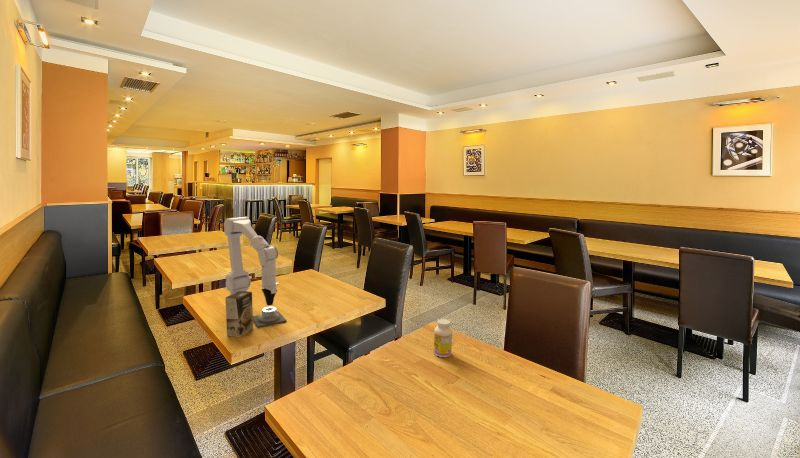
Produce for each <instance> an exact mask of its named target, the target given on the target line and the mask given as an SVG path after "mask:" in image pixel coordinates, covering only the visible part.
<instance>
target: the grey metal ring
mask: <svg viewBox="0 0 800 458" xmlns="http://www.w3.org/2000/svg"><path fill="white" fill-rule="evenodd" d="M266 309H271V310H270V311H266ZM261 314H262V317H263V318H265V319H271V318H274V317H276V316H277V308H276V306H266V307H263V308H262V309H261Z"/></svg>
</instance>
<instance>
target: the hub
mask: <svg viewBox="0 0 800 458" xmlns="http://www.w3.org/2000/svg"><path fill="white" fill-rule="evenodd" d="M270 310H271V309H266V311H270ZM283 323H287V319H286V318H285V317H284V315H282V313H280V312H279V310H278V311H277V316H276V317H274V318H271V319H265V318H263V317H262V313H260V314H257V315H253V324H254V325H256V327H257V328H258V329H260V328H265V327H270V326H274V325H275V326H276V325H278V324H283Z"/></svg>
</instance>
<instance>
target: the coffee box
mask: <svg viewBox="0 0 800 458" xmlns="http://www.w3.org/2000/svg"><path fill="white" fill-rule="evenodd" d="M224 299H225V321H226V322H225V323H226V336H228V337H229V336H230V337H236V338H241V337H243V336H244V335H245V334H247V333H248V332H250V331H251V330H253V329H254V321H253V316H254V314H253V313H254V312H253V309H254V307H253V306H254V305H253V292H252V291H249V290H247V291H238V292H236V293H234V294H232V295H230V294H229V295H228V296H226V297H224Z"/></svg>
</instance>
